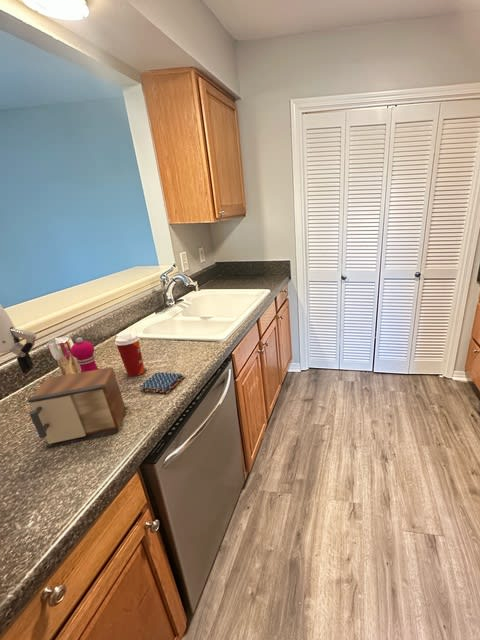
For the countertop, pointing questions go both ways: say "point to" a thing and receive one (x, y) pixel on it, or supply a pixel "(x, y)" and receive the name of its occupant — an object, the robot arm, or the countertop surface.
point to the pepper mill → (84, 355)
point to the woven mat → (162, 382)
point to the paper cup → (130, 353)
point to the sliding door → (57, 419)
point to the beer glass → (64, 355)
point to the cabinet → (88, 400)
